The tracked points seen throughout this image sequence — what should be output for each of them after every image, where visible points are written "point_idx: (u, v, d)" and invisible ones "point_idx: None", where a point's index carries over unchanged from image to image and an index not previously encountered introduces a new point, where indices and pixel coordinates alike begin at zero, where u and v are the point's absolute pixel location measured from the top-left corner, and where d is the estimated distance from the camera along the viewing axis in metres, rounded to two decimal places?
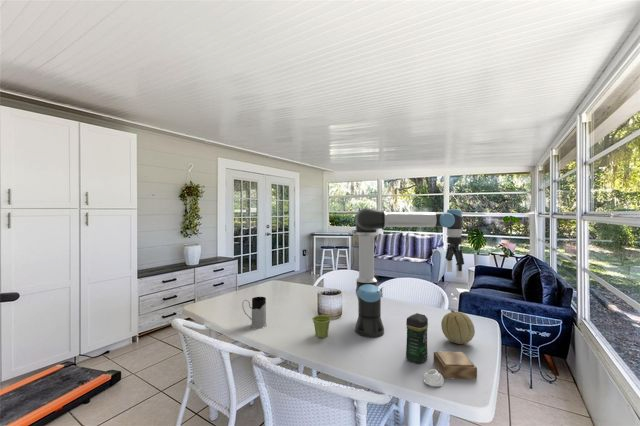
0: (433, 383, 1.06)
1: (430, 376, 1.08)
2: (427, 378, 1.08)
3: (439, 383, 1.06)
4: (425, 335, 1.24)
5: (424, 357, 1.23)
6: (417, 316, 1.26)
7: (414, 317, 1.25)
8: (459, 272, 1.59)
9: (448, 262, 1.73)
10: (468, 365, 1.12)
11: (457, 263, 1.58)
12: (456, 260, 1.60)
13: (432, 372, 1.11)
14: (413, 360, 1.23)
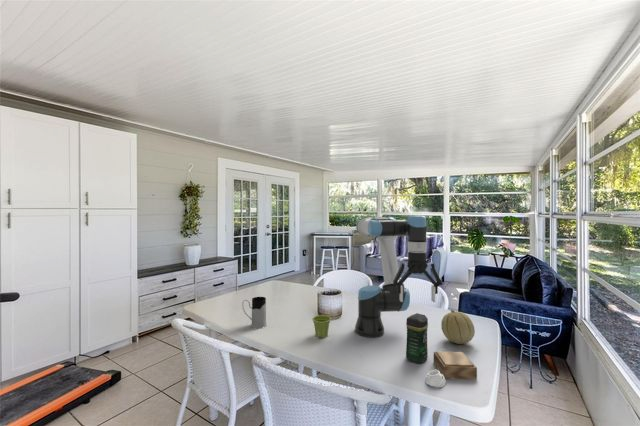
0: (435, 384, 1.06)
1: (432, 377, 1.07)
2: (429, 379, 1.08)
3: (441, 384, 1.06)
4: (425, 335, 1.24)
5: (424, 357, 1.23)
6: (417, 316, 1.26)
7: (414, 317, 1.25)
8: (400, 295, 1.27)
9: (431, 288, 1.27)
10: (468, 365, 1.12)
11: None
12: None
13: (434, 373, 1.11)
14: (413, 360, 1.23)
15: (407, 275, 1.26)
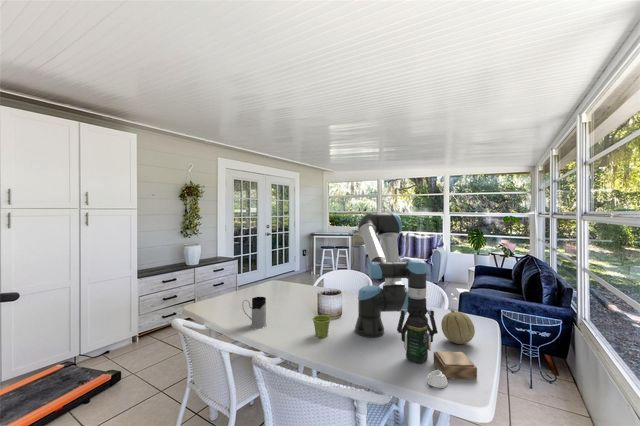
0: (437, 384, 1.05)
1: (434, 377, 1.07)
2: (431, 379, 1.07)
3: (443, 384, 1.06)
4: (425, 335, 1.24)
5: (424, 357, 1.23)
6: (417, 316, 1.26)
7: (414, 317, 1.25)
8: (404, 343, 1.27)
9: (427, 335, 1.27)
10: (468, 365, 1.12)
11: None
12: None
13: (436, 373, 1.11)
14: (413, 360, 1.23)
15: None
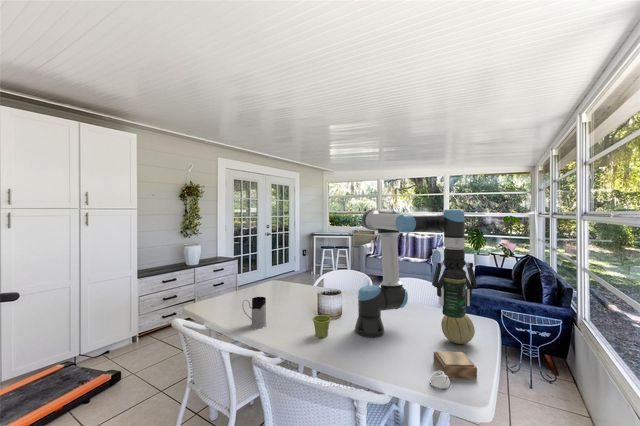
0: (440, 385, 1.05)
1: (436, 378, 1.06)
2: (433, 380, 1.07)
3: (446, 385, 1.05)
4: (464, 288, 1.14)
5: (463, 312, 1.14)
6: None
7: (452, 269, 1.15)
8: (440, 298, 1.17)
9: None
10: (468, 365, 1.12)
11: None
12: None
13: (438, 374, 1.10)
14: (451, 315, 1.13)
15: None
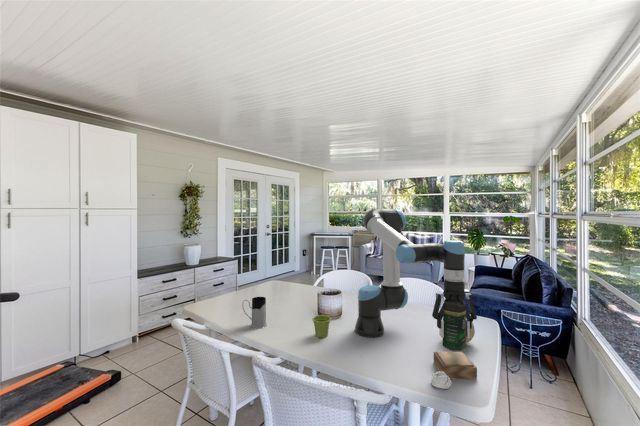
0: (441, 385, 1.05)
1: (438, 378, 1.06)
2: (435, 380, 1.07)
3: (447, 385, 1.05)
4: (464, 321, 1.14)
5: (463, 345, 1.14)
6: None
7: (452, 301, 1.15)
8: (440, 330, 1.17)
9: None
10: (468, 365, 1.12)
11: None
12: None
13: (439, 374, 1.10)
14: (451, 348, 1.13)
15: None
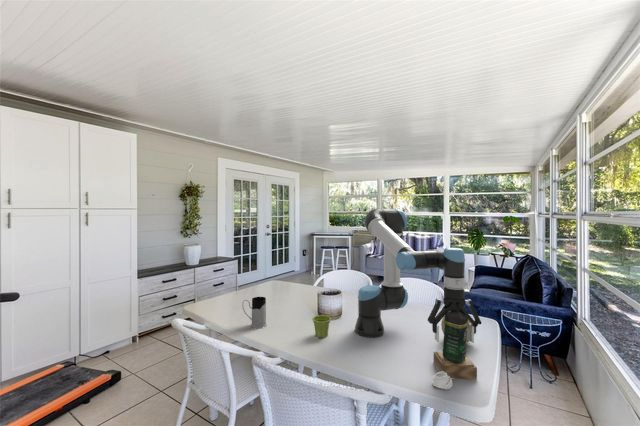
0: (442, 386, 1.04)
1: (439, 378, 1.06)
2: (436, 380, 1.06)
3: (448, 386, 1.05)
4: (465, 333, 1.14)
5: (463, 356, 1.14)
6: (457, 312, 1.15)
7: (454, 313, 1.15)
8: (435, 334, 1.18)
9: (469, 326, 1.18)
10: (468, 365, 1.12)
11: None
12: None
13: (441, 374, 1.10)
14: (451, 359, 1.13)
15: (444, 313, 1.16)
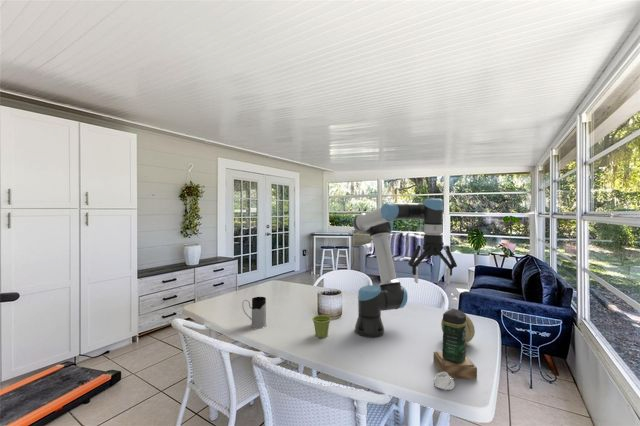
0: (444, 386, 1.04)
1: (441, 379, 1.06)
2: (437, 381, 1.06)
3: (450, 386, 1.04)
4: (464, 332, 1.14)
5: (463, 356, 1.14)
6: (455, 312, 1.16)
7: (452, 313, 1.15)
8: (415, 276, 1.30)
9: (446, 269, 1.30)
10: (468, 365, 1.12)
11: None
12: None
13: (442, 375, 1.09)
14: (451, 359, 1.13)
15: (423, 257, 1.28)
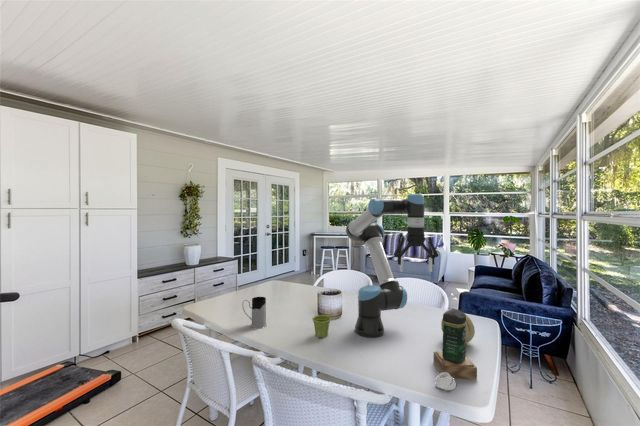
0: (445, 387, 1.04)
1: (442, 379, 1.05)
2: (439, 381, 1.06)
3: (451, 387, 1.04)
4: (464, 332, 1.14)
5: (463, 356, 1.14)
6: (455, 312, 1.16)
7: (452, 313, 1.15)
8: (400, 266, 1.40)
9: (429, 259, 1.40)
10: (468, 365, 1.12)
11: None
12: None
13: (444, 375, 1.09)
14: (451, 359, 1.13)
15: (407, 248, 1.39)
